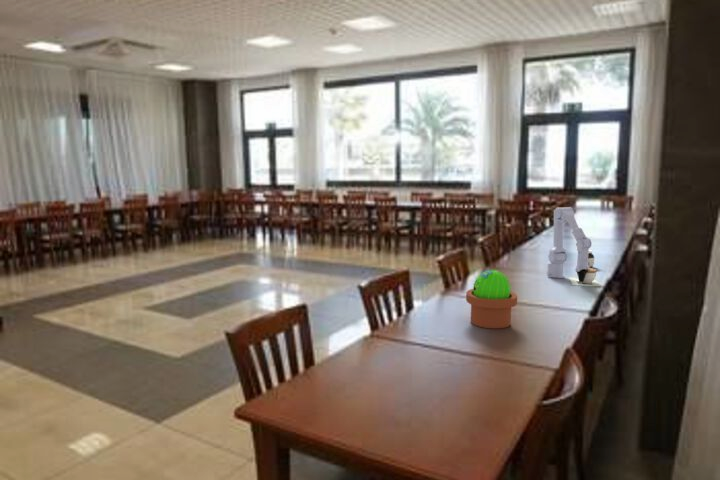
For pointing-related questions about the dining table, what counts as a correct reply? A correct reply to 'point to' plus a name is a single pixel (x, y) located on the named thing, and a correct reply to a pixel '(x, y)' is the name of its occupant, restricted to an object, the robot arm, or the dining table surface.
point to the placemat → (576, 282)
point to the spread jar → (590, 259)
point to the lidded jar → (590, 275)
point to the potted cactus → (491, 300)
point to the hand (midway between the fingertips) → (581, 281)
